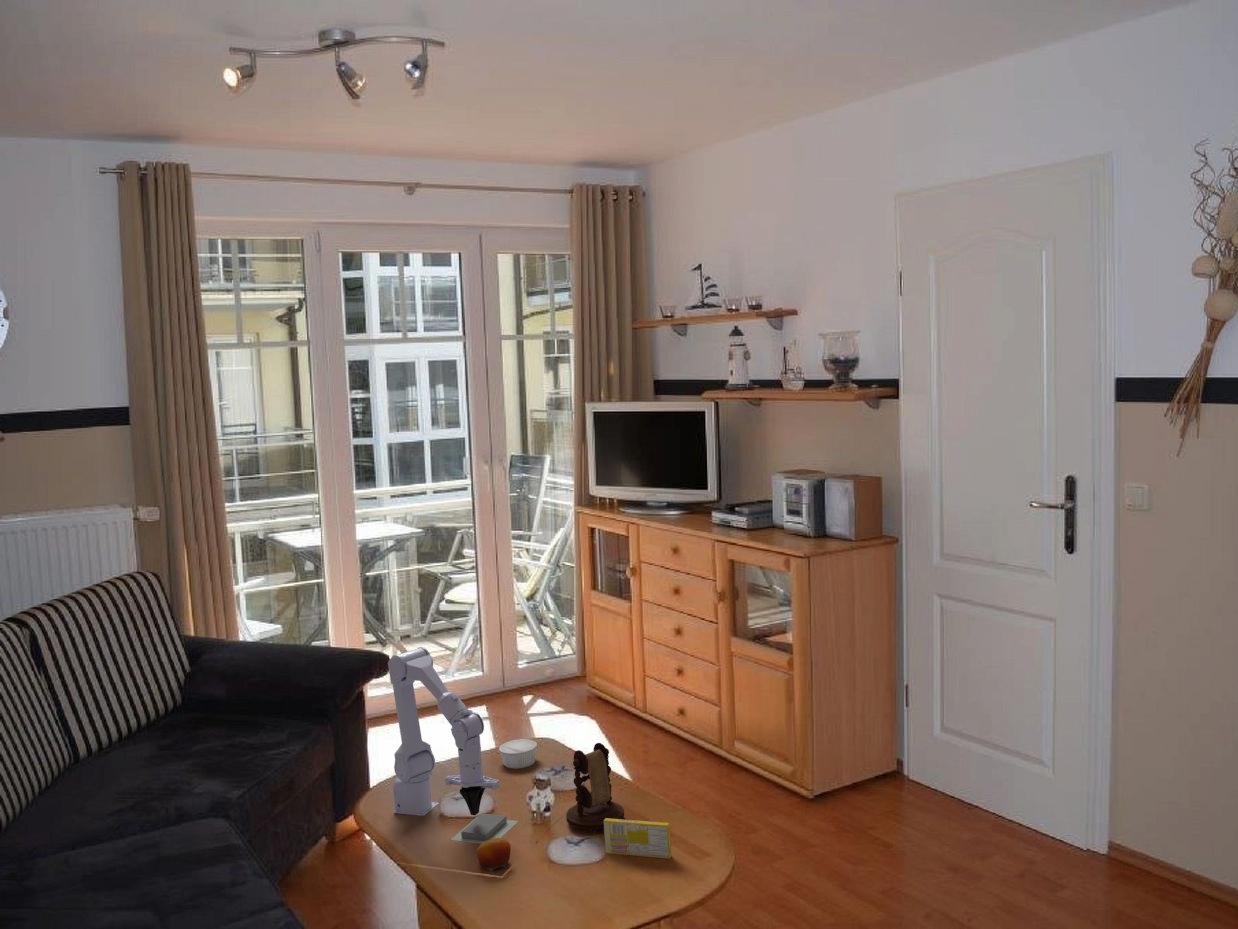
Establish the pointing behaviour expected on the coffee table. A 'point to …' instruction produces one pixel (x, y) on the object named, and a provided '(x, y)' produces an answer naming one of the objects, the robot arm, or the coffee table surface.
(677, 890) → the coffee table surface
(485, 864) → the fruit
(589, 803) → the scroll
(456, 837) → the felt mat
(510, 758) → the ramekin
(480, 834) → the slate tile
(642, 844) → the candy box
